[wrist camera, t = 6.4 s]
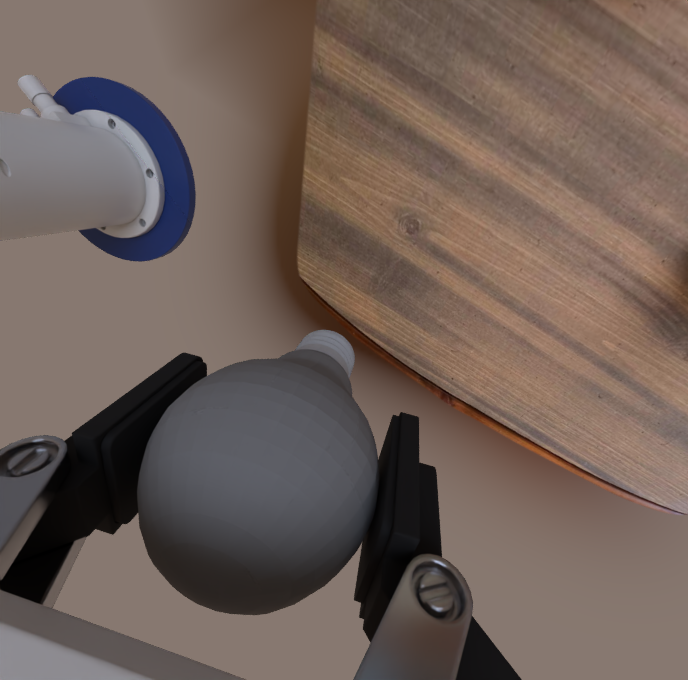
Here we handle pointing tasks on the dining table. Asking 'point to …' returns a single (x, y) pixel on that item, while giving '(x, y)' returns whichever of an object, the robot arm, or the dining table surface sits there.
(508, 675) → the robot arm
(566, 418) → the dining table surface
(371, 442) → the light bulb
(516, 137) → the dining table surface
